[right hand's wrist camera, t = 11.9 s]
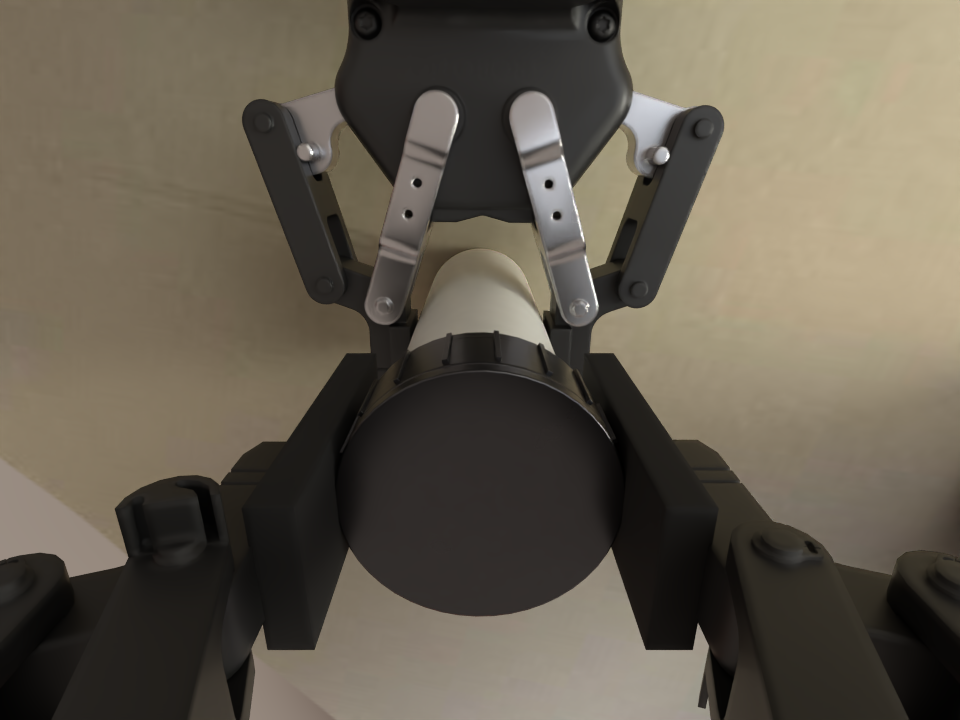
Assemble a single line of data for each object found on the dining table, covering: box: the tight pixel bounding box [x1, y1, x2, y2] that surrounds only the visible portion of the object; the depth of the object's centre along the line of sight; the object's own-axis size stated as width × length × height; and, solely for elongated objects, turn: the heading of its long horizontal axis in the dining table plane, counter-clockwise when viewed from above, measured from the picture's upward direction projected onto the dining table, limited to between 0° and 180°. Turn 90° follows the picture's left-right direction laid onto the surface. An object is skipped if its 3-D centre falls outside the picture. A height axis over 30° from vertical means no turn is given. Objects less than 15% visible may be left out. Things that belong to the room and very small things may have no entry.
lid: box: [335, 330, 625, 616], centre depth 11 cm, size 6×6×2 cm
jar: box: [407, 248, 555, 355], centre depth 18 cm, size 4×4×15 cm
